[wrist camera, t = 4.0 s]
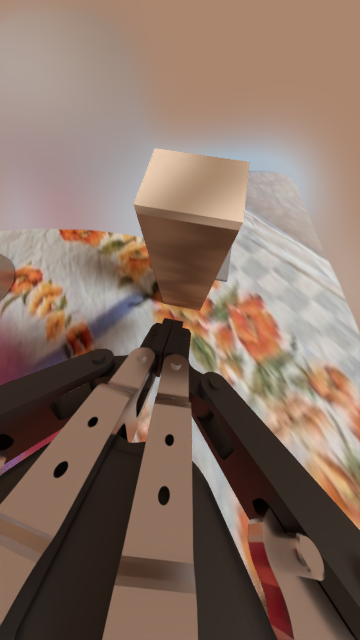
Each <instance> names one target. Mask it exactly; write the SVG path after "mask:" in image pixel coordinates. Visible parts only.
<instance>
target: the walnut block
mask: <svg viewBox="0 0 360 640" xmlns="http://www.w3.org/2000/svg"><path fill="white" fill-rule="evenodd" d="M248 172H249V162H245V161H238V160H231V159H224V158H217V157H211V156H204V155H197V154H190V153H183V152H176V151H169V150H162V149H156V148H155V149H154V152H153V155H152V157H151V160H150V163H149V165H148V168H147V170H146V173H145V176H144V178H143V181H142V184H141V186H140V189H139V192H138V194H137V197H136V200H135V202H134V207H135V210H136V214H137V217H138V220H139V223H140V227H141V230H142V234H143V237H144V240H145V244H146V247H147V250H148V254H149V257H150V260H151V264H152V267H153V270H154V273H155V277H156V280H157V283H158V287H159V290H160V293H161V297H162V300H163V303H164V304H169V305H174V306H179V307H185V308H190V309H195V310H200V309H201V307H202V305H203V303H204V301H205V299H206V297H207V295H208V293H209V291H210V289H211V287H212V285H213V283H214V281H215V279H216V277H217V275H218V273H219V271H220V268H221V266H222V264H223V262H224V260H225V258H226V256H227V254H228V252H229V250H230V248H231V246H232V244H233V242H234V240H235V238H236V236H237V234H238V232H239V230H240V228H241V226H242V224H243V219H244V209H245V200H246V190H247V181H248Z"/></svg>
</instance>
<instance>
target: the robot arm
mask: <svg viewBox="0 0 360 640" xmlns="http://www.w3.org/2000/svg"><path fill="white" fill-rule="evenodd" d="M14 277H15V269H14V266H13V264H12V262H11V261H10V260H9V259H8V258H7V257H5V256H3V255H2V254H0V300H1V299H2V298H3V297H4V296H5V295H6V294H7V292H8V291H9V289H10V288H11V286H12V284H13V281H14ZM182 327H183V322H182V321H177V320H172V319H167V318H164V320H163V323H162V324H160V323H156V324H154V325H153V326H152V327H151V329H150V331H149V332H148V335H147V336H146V337H145V339H144V341H143V343H142V344H141V346H140V348H137V349H135V350H133V351H132V352H131V353H130V355H125V356H114V355H113V352H112V351H110V350H108V349H97V350H94V351H91V352H89V353H86V354H83V355H81V356H78V357H75V358H73V359H70V360H67V361H65V362H62V363H59V364H57V365H54V366H51V367H49V368H46V369H43V370H40V371H38V372H35V373H32V374H30V375H27V376H24V377H22V378H19V379H16V380H14V381H11V382H8V383H6V384H3V385H0V474H1V468H2V467H3V465H4V464H5V463H7V462H9V461H10V460H12V459H13V458H15V457H17V456H18V455H20V454H21V453H23V452H25V451H26V450H28V449H29V448H31V447H33V446H34V445H36V444H37V443H39V442H41V441H42V440H44V439H46V438H47V437H49V436H50V435H52V434H54V433H55V432H57V431H58V430H60V429H61V428H63V429H62V430H61V431H60V432H59V434H58V435H57V436H56V437H55V438H54V440H53V441H51V442H50V443H48V444H46V445H45V446H43V447H42V448H40V449H39V450H37V451H36V452H34V453H33V454H32V455H30V456H28V457H27V458H25V459H24V460H22V461H21V462H19V463H18V464H16V465H15V466H13V467H12V468H10V469H9V470H7V471H6V472H4V473H3V474H1V475H0V640H360V530H359V529H358V528H357V527H356V526H355V525H354V523H353V522H352V521H351V520H350V519H349V518H348V517H347V516H346V514H345V513H344V512H343V511H342V510H341V509H340V508H339V507H338V506H337V504H336V503H335V502H334V501H333V500H332V499H331V498H330V497H329V495H328V494H327V493H326V492H325V491H324V490H323V489H322V488H321V486H320V485H319V484H318V483H317V482H316V481H315V480H314V479H313V477H312V476H311V475H310V474H309V473H308V472H307V471H306V470H305V469H304V467H303V466H302V465H301V464H300V463H299V462H298V461H297V460H296V458H295V457H294V456H293V455H292V454H291V453H290V452H289V451H288V449H287V448H286V447H285V446H284V445H283V444H282V443H281V442H280V441H279V439H278V438H277V437H276V436H275V435H274V434H273V433H272V432H271V430H270V429H269V428H268V427H267V426H266V425H265V424H264V423H263V421H262V420H261V419H260V418H259V417H258V416H257V415H256V414H255V412H254V411H253V410H252V409H251V408H250V407H249V406H248V405H247V404H246V402H245V401H244V400H243V399H242V398H241V397H240V396H239V395H238V393H237V392H236V391H235V390H234V389H233V388H232V387H231V386H230V384H229V383H228V382H227V381H226V380H225V379H224V378H223V377H222V376H221V375H219V374H217V373H215V372H207V373H205V374H202V373H200V372H198V371H196V370H195V369H193V368H192V366H191V365H190V363H189V360H188V358H189V348H190V339H191V333H190V331H189V329H185V328H182ZM160 375H161V378H160V383H159V387H158V392H157V396H156V398H155V402H154V407H153V412H152V416H151V421H150V426H149V430H148V435H147V440H146V442H139V443H132V441H133V438H134V435H135V432H136V429H137V425H138V421H139V419H140V416H141V414H142V411H143V409H144V407H145V404H146V402H147V399H148V397H149V395H150V392H151V390H152V387H153V383H154V380H155V377H160ZM191 415H192V417H193V419H194V421H195V423H196V424H197V426H198V428H199V430H200V432H201V433H202V435H203V437H204V439H205V441H206V442H207V444H208V446H209V448H210V450H211V452H212V453H213V455H214V457H215V459H216V461H217V462H218V464H219V466H220V468H221V470H222V471H223V473H224V475H225V477H226V479H227V480H228V482H229V484H230V486H231V488H232V489H233V491H234V493H235V495H236V497H237V499H238V500H239V502H240V504H241V506H242V508H243V509H244V511H245V513H246V515H247V517H248V518H249V520H250V521H249V524H248V544H249V550H250V554H251V557H252V561H253V564H254V566H255V569H256V571H257V574H258V576H259V579H260V581H261V584H262V587H263V590H264V594H265V598H266V602H267V607H268V613H269V619H268V617H267V614H266V612H265V610H264V608H263V605H262V603H261V601H260V599H259V596H258V594H257V592H256V590H255V587H254V585H253V583H252V581H251V578H250V576H249V574H248V572H247V569H246V567H245V565H244V563H243V560H242V558H241V556H240V554H239V551H238V549H237V547H236V545H235V542H234V540H233V538H232V536H231V533H230V531H229V529H228V527H227V524H226V522H225V520H224V518H223V515H222V513H221V511H220V509H219V506H218V504H217V502H216V500H215V497H214V495H213V493H212V491H211V488H210V486H209V484H208V482H207V480H206V479H205V477H204V475H203V474H202V472H201V471H200V469H199V468H198V467H197V466H196V464H195V463H194V462H193V461H192V423H191Z"/></svg>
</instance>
